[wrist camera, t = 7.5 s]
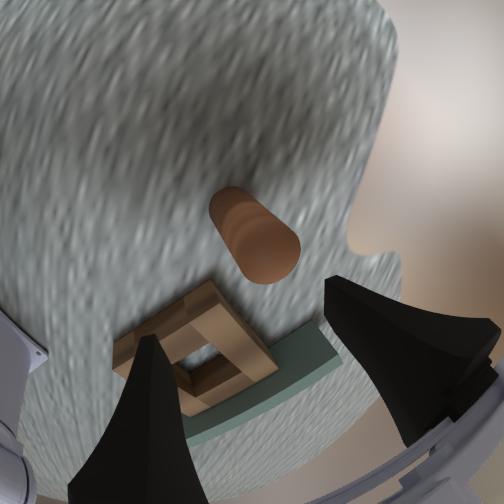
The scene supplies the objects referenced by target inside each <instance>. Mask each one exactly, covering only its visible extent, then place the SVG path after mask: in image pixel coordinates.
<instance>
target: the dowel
mask: <svg viewBox="0 0 504 504" xmlns="http://www.w3.org/2000/svg"><path fill="white" fill-rule="evenodd" d="M209 215H210V218H211V220H212V221H213V223H214V225H215V227H216V228H217V230H218V232H219V234H220V235H221V237H222V239H223V240H224V242H225V244H226V246H227V247H228V249H229V251H230V253H231V254H232V256H233V258H234V259H235V261H236V263H237V264H238V266H239V268H240V270H241V271H242V273H243V275H244V276H245V277H246V278H247V279H248V280H250V281H251V282H254V283H257V284H271V283H275V282H277V281H279V280H281V279H283V278H284V277H286V276H287V275H288V274H289V273H290V272H291V271H292V270H293V269H294V267H295V266H296V264H297V262H298V260H299V257H300V251H301V246H300V241H299V239H298V237H297V235H296V234H295V233H294V232H293V231H292V230H291V229H290V228H289V227H288V226H286V225H285V224H284V223H283V222H282V221H281V220H279V219H278V218H277V217H276V216H275V215H273V214H272V213H271V212H270V211H269V210H268V209H266V208H265V207H264V206H263V205H262V204H260V203H259V202H258V201H257V200H256V199H254V198H253V197H252V196H251V195H250V194H248V193H247V192H246V191H245V190H243V189H241V188H239V187H227V188H224V189H222V190H220V191H218V192H217V193H216V194H215V195H214V196H213V198H212V200H211V202H210V205H209Z"/></svg>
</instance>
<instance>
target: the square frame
mask: <svg viewBox="0 0 504 504" xmlns="http://www.w3.org/2000/svg"><path fill="white" fill-rule="evenodd" d="M151 334H156V336H157V338H158V340H159V342H160V344H161V346H162V348H163V350H164V351H165V353H166V355H167V357H168V359H169V361H170V362H171V364H172V367H173V371H174V375H175V379H176V383H177V387H178V394H179V401H180V408H181V413H183V414H185V415H187V416H189V417H192V416H194V415H196V414H198V413H200V412H202V411H204V410H206V409H208V408H210V407H212V406H214V405H216V404H218V403H220V402H222V401H224V400H226V399H228V398H230V397H231V396H233V395H235V394H237V393H239V392H241V391H242V390H244V389H246V388H248V387H250V386H251V385H253V384H255V383H256V382H258V381H260V380H262V379H263V378H265V377H267V376H268V375H270V374H272V373H273V372H275V371H277V370H278V369H279V368H278V366H277V364H276V362H275V360H274V358H273V357H272V355H271V353H270V351H269V349H268V347H267V346H266V345H265V344H264V342H263V341H262V340H261V339H260V338H259V337H258V336H257V334H256V333H255V332H254V331H253V330H252V329H251V327H250V326H249V325H248V324H247V323H246V321H245V320H244V319H243V318H242V317H241V316H240V314H239V313H238V312H237V311H236V310H235V308H234V307H233V306H232V305H231V304H230V302H229V301H228V300H227V299H226V297H225V296H224V295H223V294H222V293H221V291H220V290H219V289H218V288H217V286H216V285H215V284H214V283H213V282H212V280H211V279H210V280H208V281H207V282H205V283H203V284H202V285H200V286H199V287H197V288H196V289H194V290H193V291H191V292H190V293H188V294H187V295H185V296H184V297H182V298H181V299H179V300H178V301H176V302H175V303H173V304H172V305H170V306H169V307H167V308H166V309H164V310H163V311H161V312H160V313H158V314H157V315H155V316H154V317H152V318H151V319H149V320H148V321H146V322H145V323H143V324H142V325H140V326H139V327H137V328H136V329H134V330H133V331H131V332H130V333H128V334H127V335H125V336H124V337H122V338H120V339H119V340H117V341H116V342H114V344H113V365H112V370H113V371H114V372H116V373H117V374H119V375H120V376H122V377H123V378H125V379H126V380H127V378H128V375H129V372H130V369H131V366H132V363H133V360H134V357H135V353H136V350H137V346H138V343H139V340H140V338H141V337H143V336H147V335H151ZM209 342H210V343H211V344H212V345H213V346H214V347H215V348H216V349H217V350H218V351H219V352H221V353H222V354H221V355H220V356H218V357H216V358H214V359H213V360H211V361H209V362H208V363H206V364H204V365H202V366H201V367H199V368H197V369H196V370H194V371H192V372H190V373H188V372H187V371H186V370H184V369H183V368H182V367H180V366H179V365H178V364H176V363H175V362H177V361H179V360H181V359H182V358H184V357H186V356H187V355H189V354H191V353H192V352H194V351H196V350H197V349H199V348H201V347H202V346H204V345H206V344H207V343H209Z"/></svg>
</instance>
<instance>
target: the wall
mask: <svg viewBox="0 0 504 504" xmlns="http://www.w3.org/2000/svg"><path fill="white" fill-rule="evenodd" d="M268 349H269V351H270V353H271V355H272V357H273V358H274V360H275V362H276V364H277V366H278V368H279V369H278V370H277V371H275V372H273V373H272V374H270V375H268V376H267V377H265V378H263V379H262V380H260V381H258V382H256V383H255V384H253V385H251V386H250V387H248V388H246V389H244V390H242V391H241V392H239V393H237V394H235V395H233V396H231V397H230V398H228V399H226V400H224V401H222V402H220V403H218V404H216V405H214V406H212V407H210V408H208V409H206V410H204V411H202V412H200V413H198V414H196V415H194V416H192V417H189V416H187V415H185V414H183V413H181V415H182V421H183V427H184V433H185V438H186V442H187V446H188V448H191V447H193V446H195V445H198V444H200V443H203V442H205V441H207V440H209V439H212V438H214V437H216V436H218V435H221V434H223V433H225V432H227V431H229V430H231V429H233V428H235V427H237V426H239V425H241V424H243V423H245V422H247V421H249V420H251V419H253V418H255V417H257V416H259V415H261V414H263V413H264V412H266V411H268V410H270V409H272V408H274V407H275V406H277V405H279V404H281V403H282V402H284V401H286V400H287V399H289V398H291V397H293V396H294V395H296V394H297V393H299V392H301V391H302V390H304V389H306V388H307V387H309V386H310V385H312V384H313V383H315V382H317V381H318V380H320V379H321V378H323V377H324V376H326V375H327V374H329V373H330V372H332V371H333V370H334V369H336V368H337V367H339V366H340V365H342V364H343V362H342V360H341V358H340V356H339V354H338V353H337V352H336V350H335V349H334V348H333V346H332V345H331V344H330V342H329V341H328V340H327V339H326V337H325V336H324V335H323V333H322V332H321V331H320V329H319V328H318V327H317V326H316V324H315V323H314V322H313V320H312V319H311V320H310V321H309V322H307V323H306V324H304V325H303V326H301V327H300V328H298V329H297V330H295V331H294V332H292V333H291V334H289V335H288V336H286V337H285V338H283V339H282V340H280V341H278V342H277V343H275V344H274V345H272V346H271V347H269V348H268Z"/></svg>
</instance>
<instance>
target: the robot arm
mask: <svg viewBox="0 0 504 504" xmlns="http://www.w3.org/2000/svg"><path fill="white" fill-rule="evenodd" d="M324 316H325V317H326V319H327V321H328V323H329V324H330V326H331V328H332V329H333V331H334V332H335V334H336V335H337V336H338V337H339V339H340V340H341V341H342V342H343V344H344V345H345V346H346V347H347V349H348V350H349V351H350V352H351V353H352V355H353V356H354V357H355V358H356V360H357V361H358V362H359V363H360V364H361V366H362V367H363V368H364V370H365V371H366V372H367V374H368V375H369V377H370V379H371V380H372V382H373V383H374V385H375V387H376V388H377V390H378V392H379V393H380V395H381V397H382V398H383V400H384V402H385V404H386V406H387V408H388V410H389V411H390V413H391V416H392V418H393V419H394V422H395V424H396V426H397V428H398V430H399V433H400V435H401V438H402V440H403V443H404V444H405V446H406V447H407V449H406V450H404V451H403V452H401V453H400V454H398V455H397V456H395V457H394V458H392V459H391V460H389V461H388V462H386V463H385V464H383V465H382V466H380V467H378V468H376V469H375V470H373V471H371V472H370V473H368V474H366V475H364V476H362V477H361V478H359V479H357V480H355V481H353V482H351V483H349V484H347V485H346V486H344V487H342V488H340V489H337V490H335V491H334V492H331V493H329V494H327V495H325V496H322V497H320V498H318V499H315V500H313V501H311V502H308V503H306V504H346V503H348V502H349V501H351V500H353V499H355V498H357V497H359V496H361V495H363V494H364V493H366V492H368V491H370V490H371V489H373V488H375V487H377V486H378V485H380V484H382V483H383V482H385V481H386V480H388V479H390V478H391V477H393V476H394V475H396V474H397V473H399V472H400V471H402V470H403V469H405V468H406V467H407V466H409V465H410V464H412V463H413V462H414V461H416V460H417V459H419V458H420V457H421V456H423V455H424V454H425V453H426V452H428V451H429V450H430V449H431V450H430V452H429V457H428V458H427V459H426V460H425V461H423V462H422V463H421V464H419V465H418V466H417V467H415V468H414V469H413V470H411V471H410V472H409V473H407V474H406V475H404V476H403V477H401V478H400V479H399V482H400V484H401V485H402V487H403V488H402V489H400V490H399V491H398V492H396V493H394V494H393V495H391V496H389V497H388V498H386V499H385V500H383V501H381V502H379V503H378V504H484V503H483V502H482V501H481V499H480V498H479V497H478V495H477V494H476V492H475V491H474V490H473V488H472V487H471V486H470V484H469V482H470V481H471V480H472V479H473V477H474V476H475V475H476V474H477V473H478V472H479V470H480V469H481V468H482V467H483V465H484V464H485V463H486V462H487V460H488V459H489V458H490V456H491V455H492V454H493V452H494V451H495V450H496V448H497V447H498V445H499V444H500V442H501V441H502V440H503V438H504V356H503V357H502V358H501V360H500V361H499V362H498V363H497V365H496V366H495V367H494V368H492V367H491V366H490V364H491V363H492V360H491V359H490V358H489V357H488V356H489V354H490V353H491V351H492V350H493V348H494V346H495V345H496V343H497V341H498V339H499V337H500V335H501V329H500V328H499V327H498V326H497V325H496V324H495V323H494V322H493V321H491V320H490V319H489V318H466V317H457V316H450V315H444V314H439V313H434V312H429V311H426V310H422V309H418V308H415V307H412V306H409V305H406V304H402V303H400V302H398V301H395V300H392V299H390V298H387V297H385V296H383V295H380V294H378V293H376V292H373V291H371V290H369V289H367V288H365V287H362V286H360V285H358V284H356V283H354V282H352V281H350V280H347V279H345V278H343V277H341V276H338V275H335V276H333V277H330V278H327V279H325V290H324ZM47 359H48V353H47V352H46V351H44V350H43V349H42V348H41V347H40V346H38V345H37V344H36V343H35V342H34V341H33V340H31V339H30V338H29V337H28V336H27V335H26V334H25V333H24V332H22V331H21V330H20V329H19V328H18V327H17V326H16V325H15V324H14V323H13V322H12V321H11V320H10V319H9V318H8V317H7V316H6V315H5V314H4V313H3V312H2V311H1V310H0V504H35V502H36V496H37V485H36V479H35V476H34V472H33V469H32V466H31V464H30V462H29V461H28V460H27V458H26V457H24V456H23V444H21V443H20V442H19V441H17V440H16V438H17V430H18V423H19V417H20V411H21V406H22V400H23V396H24V391H25V386H26V382H27V378H28V374H30V373H31V372H32V371H33V370H35V369H36V368H37V367H38V366H40V365H41V364H42V363H44V362H45V361H46V360H47ZM68 502H69V504H209V502H208V500H207V498H206V496H205V493H204V491H203V489H202V486H201V484H200V481H199V478H198V476H197V473H196V470H195V467H194V464H193V462H192V458H191V455H190V452H189V449H188V446H187V442H186V438H185V433H184V427H183V421H182V415H181V408H180V401H179V394H178V387H177V383H176V379H175V375H174V371H173V367H172V364H171V362H170V361H169V359H168V357H167V355H166V353H165V351H164V350H163V348H162V346H161V344H160V342H159V340H158V338H157V336H156V334H151V335H147V336H143V337H141V338H140V340H139V343H138V346H137V350H136V353H135V357H134V360H133V363H132V366H131V369H130V372H129V375H128V378H127V381H126V384H125V387H124V389H123V392H122V394H121V397H120V400H119V402H118V405H117V407H116V409H115V412H114V414H113V416H112V418H111V420H110V422H109V424H108V426H107V428H106V430H105V432H104V434H103V436H102V437H101V439H100V441H99V443H98V444H97V446H96V447H95V449H94V451H93V452H92V454H91V455H90V457H89V458H88V460H87V461H86V463H85V464H84V465H83V467H82V468H81V469H80V471H79V472H78V473H77V474H76V475H75V477H74V478H73V479H72V480H71V482H70V483H69V484H68Z"/></svg>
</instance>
